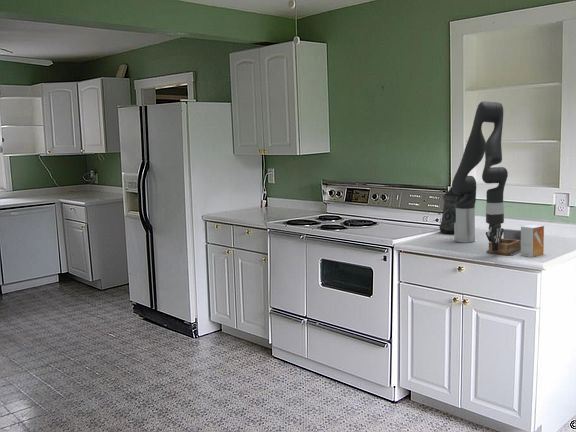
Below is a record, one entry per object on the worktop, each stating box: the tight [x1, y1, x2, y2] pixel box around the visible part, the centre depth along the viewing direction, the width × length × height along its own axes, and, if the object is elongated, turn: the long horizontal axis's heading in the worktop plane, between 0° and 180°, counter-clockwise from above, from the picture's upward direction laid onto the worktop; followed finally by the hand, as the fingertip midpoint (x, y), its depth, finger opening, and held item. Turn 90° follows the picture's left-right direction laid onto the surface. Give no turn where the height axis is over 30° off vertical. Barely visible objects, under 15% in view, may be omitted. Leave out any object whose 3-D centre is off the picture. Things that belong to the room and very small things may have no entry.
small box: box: [520, 224, 545, 258], centre depth 260 cm, size 8×6×13 cm
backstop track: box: [485, 228, 521, 257], centre depth 272 cm, size 14×21×8 cm, turn 135°
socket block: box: [488, 237, 521, 257], centre depth 269 cm, size 10×12×5 cm
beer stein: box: [438, 187, 465, 236], centre depth 323 cm, size 16×19×25 cm
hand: (494, 250), depth 262 cm, fingers closed
